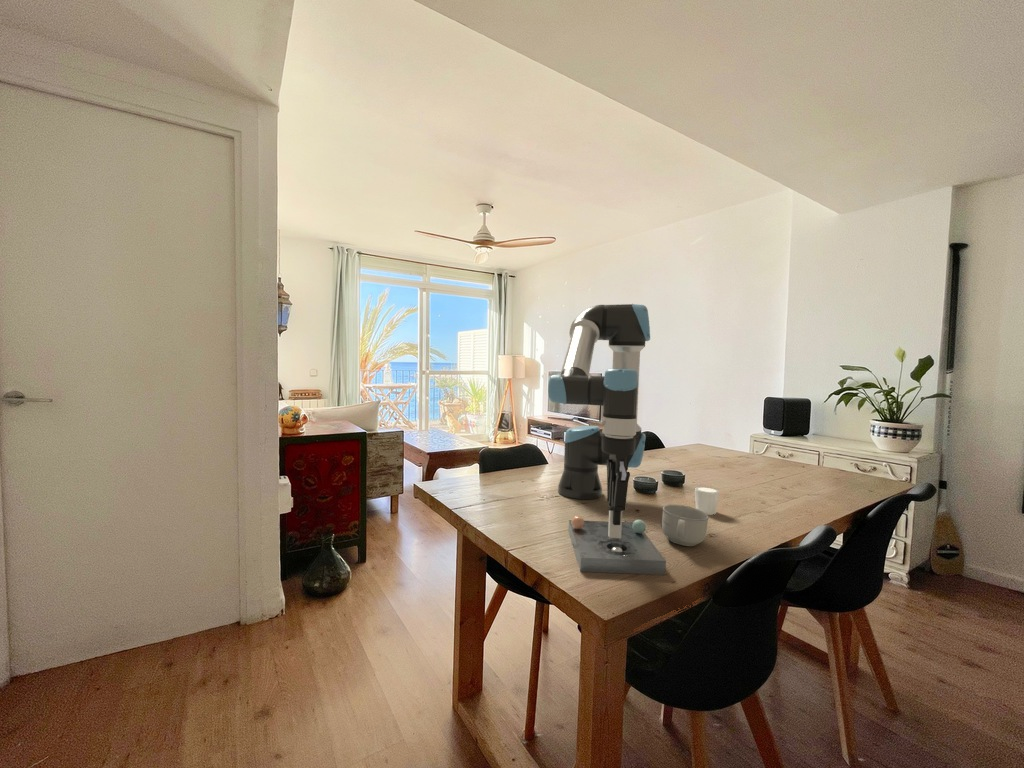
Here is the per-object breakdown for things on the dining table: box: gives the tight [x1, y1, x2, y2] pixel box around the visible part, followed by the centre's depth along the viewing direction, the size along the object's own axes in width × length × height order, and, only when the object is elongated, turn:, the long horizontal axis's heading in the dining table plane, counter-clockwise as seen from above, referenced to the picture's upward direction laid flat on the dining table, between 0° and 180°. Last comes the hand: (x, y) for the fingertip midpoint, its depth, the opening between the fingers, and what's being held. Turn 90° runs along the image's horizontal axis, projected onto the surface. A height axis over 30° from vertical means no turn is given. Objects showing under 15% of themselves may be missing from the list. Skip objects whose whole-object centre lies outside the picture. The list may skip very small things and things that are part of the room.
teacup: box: [661, 504, 710, 547], centre depth 105 cm, size 14×11×8 cm
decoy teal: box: [632, 519, 647, 533], centre depth 104 cm, size 3×3×3 cm
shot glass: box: [694, 486, 720, 516], centre depth 130 cm, size 7×7×7 cm
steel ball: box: [611, 547, 623, 552], centre depth 94 cm, size 3×3×3 cm
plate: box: [568, 519, 667, 576], centre depth 100 cm, size 22×18×3 cm
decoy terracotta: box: [571, 515, 585, 529], centre depth 105 cm, size 3×3×3 cm
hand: (614, 536), depth 97 cm, fingers closed
